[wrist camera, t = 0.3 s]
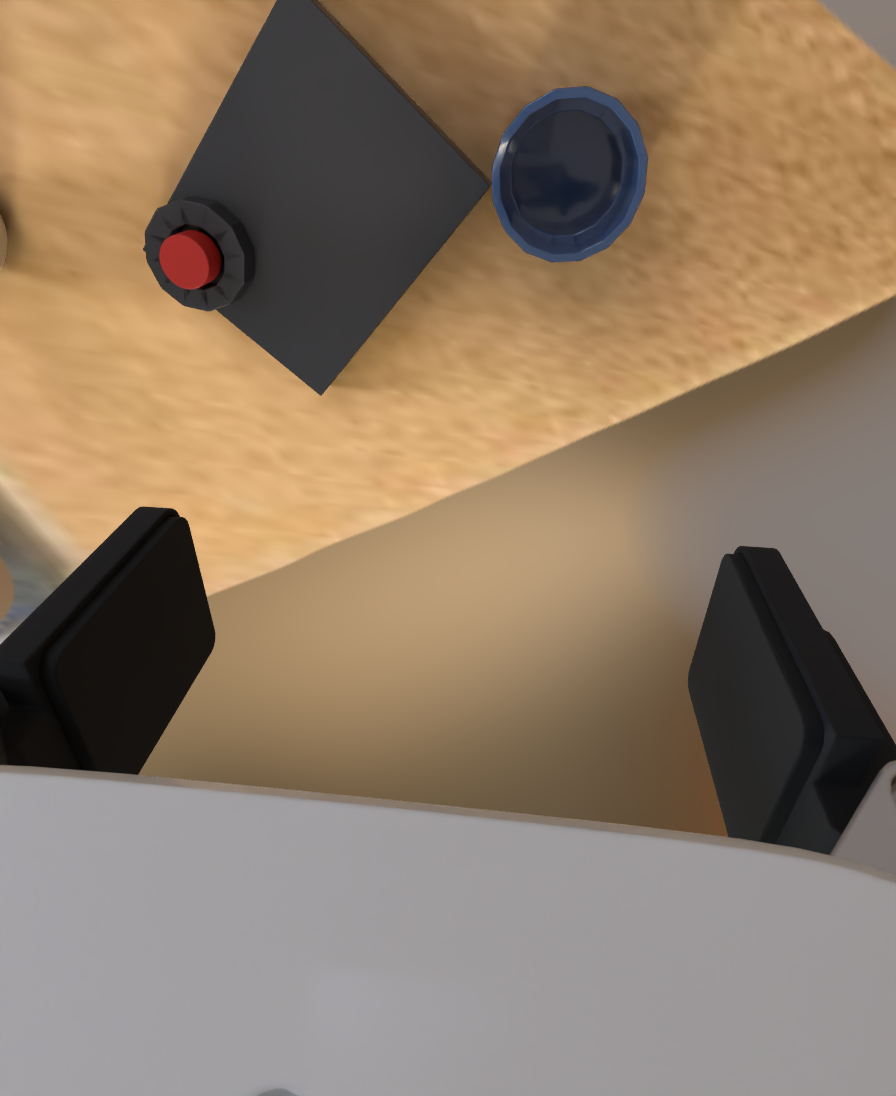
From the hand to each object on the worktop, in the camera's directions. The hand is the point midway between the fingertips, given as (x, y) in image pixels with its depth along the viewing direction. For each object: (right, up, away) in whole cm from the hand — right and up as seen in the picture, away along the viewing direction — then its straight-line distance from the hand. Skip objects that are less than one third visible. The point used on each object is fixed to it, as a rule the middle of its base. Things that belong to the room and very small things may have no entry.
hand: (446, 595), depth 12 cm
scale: (-8, +20, +26) cm, 34 cm away
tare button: (-14, +17, +25) cm, 34 cm away
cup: (+6, +21, +24) cm, 33 cm away
